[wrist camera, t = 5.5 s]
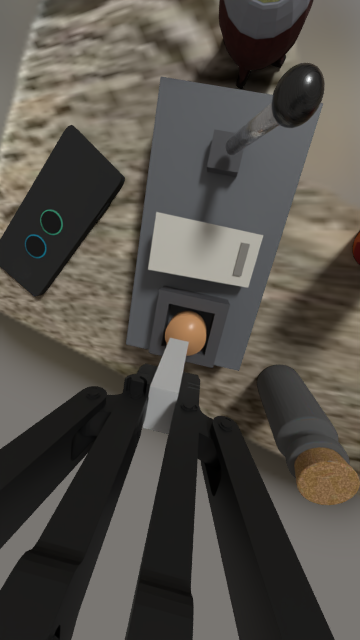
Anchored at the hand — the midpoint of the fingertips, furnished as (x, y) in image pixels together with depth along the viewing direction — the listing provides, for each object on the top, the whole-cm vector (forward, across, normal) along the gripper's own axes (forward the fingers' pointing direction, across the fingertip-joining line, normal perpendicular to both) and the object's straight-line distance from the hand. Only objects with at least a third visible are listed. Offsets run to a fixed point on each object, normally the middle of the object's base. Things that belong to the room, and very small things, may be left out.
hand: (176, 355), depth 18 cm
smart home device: (+15, +19, -8) cm, 25 cm away
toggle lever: (+8, 0, -16) cm, 18 cm away
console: (+14, 0, -8) cm, 16 cm away
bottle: (+14, -14, +8) cm, 22 cm away
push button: (+7, 0, 0) cm, 7 cm away
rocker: (+7, 0, -8) cm, 10 cm away
